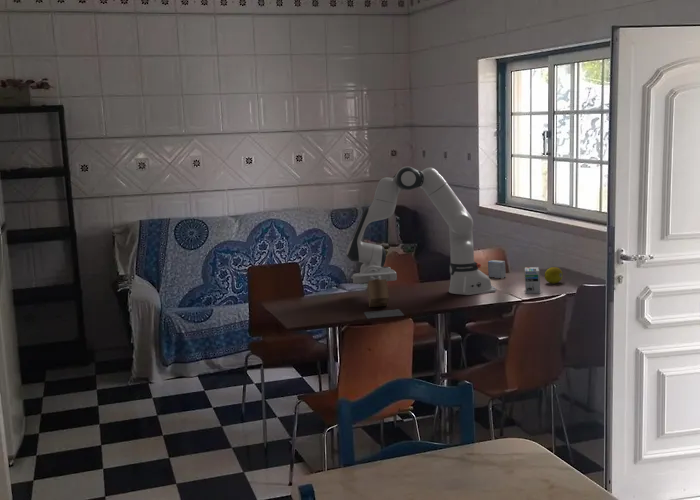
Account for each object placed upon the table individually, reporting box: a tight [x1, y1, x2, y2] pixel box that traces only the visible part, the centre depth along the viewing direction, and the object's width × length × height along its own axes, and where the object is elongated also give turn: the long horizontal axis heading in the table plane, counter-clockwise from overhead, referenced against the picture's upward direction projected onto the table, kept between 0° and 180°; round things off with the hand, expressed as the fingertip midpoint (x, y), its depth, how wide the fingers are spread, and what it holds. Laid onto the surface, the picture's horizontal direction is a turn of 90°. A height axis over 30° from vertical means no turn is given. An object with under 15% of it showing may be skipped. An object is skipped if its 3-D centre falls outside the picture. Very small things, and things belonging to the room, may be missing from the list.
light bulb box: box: [524, 266, 541, 295], centre depth 365 cm, size 11×7×11 cm, turn 168°
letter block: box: [366, 279, 390, 308], centre depth 351 cm, size 8×9×9 cm
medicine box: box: [487, 259, 507, 279], centre depth 403 cm, size 8×4×9 cm, turn 46°
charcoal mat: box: [363, 308, 405, 320], centre depth 338 cm, size 16×12×1 cm
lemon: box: [544, 266, 564, 285], centre depth 381 cm, size 11×8×8 cm
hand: (376, 280), depth 351 cm, fingers closed
